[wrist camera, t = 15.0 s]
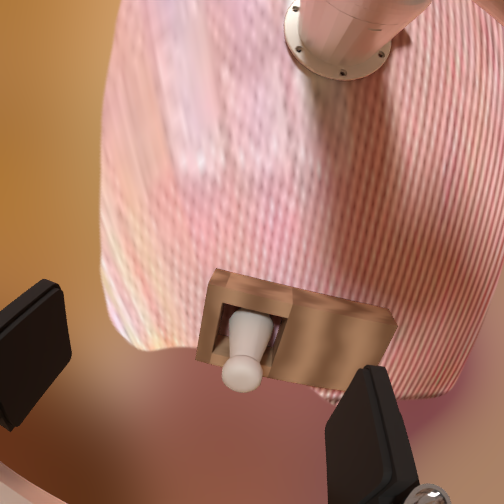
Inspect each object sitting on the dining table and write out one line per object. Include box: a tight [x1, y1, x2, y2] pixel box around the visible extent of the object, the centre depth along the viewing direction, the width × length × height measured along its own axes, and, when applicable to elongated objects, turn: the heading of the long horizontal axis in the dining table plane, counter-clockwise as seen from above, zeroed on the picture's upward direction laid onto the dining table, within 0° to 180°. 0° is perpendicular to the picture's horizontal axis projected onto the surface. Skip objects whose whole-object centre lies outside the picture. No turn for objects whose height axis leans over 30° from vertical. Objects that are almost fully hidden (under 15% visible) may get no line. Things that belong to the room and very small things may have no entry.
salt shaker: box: [222, 308, 274, 393], centre depth 36 cm, size 6×6×13 cm
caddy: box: [195, 268, 398, 391], centre depth 40 cm, size 24×12×4 cm, turn 77°
